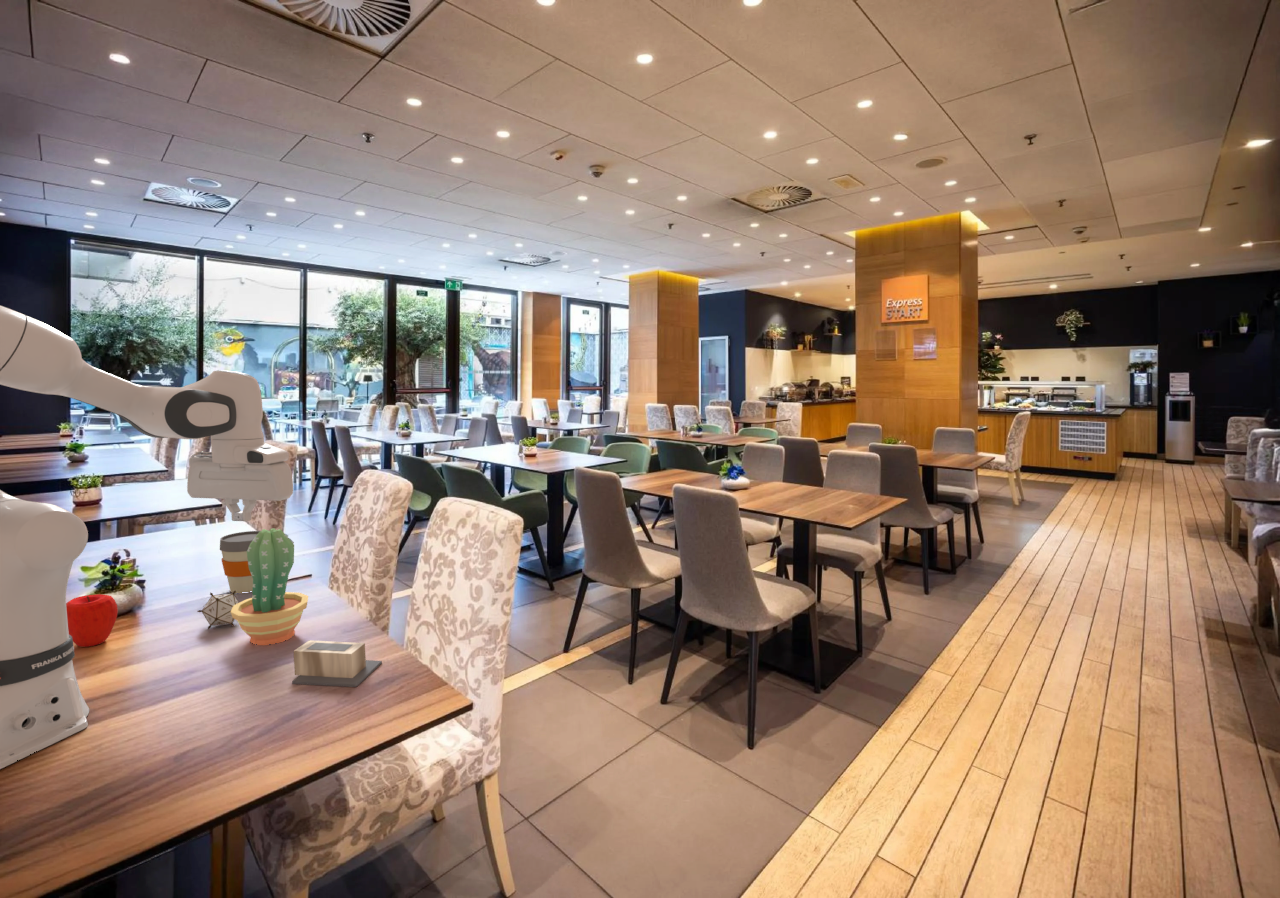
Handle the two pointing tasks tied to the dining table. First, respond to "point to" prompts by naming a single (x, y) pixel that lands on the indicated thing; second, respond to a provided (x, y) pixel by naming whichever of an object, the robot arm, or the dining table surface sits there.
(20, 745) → the robot arm
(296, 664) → the birch block
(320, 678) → the mat
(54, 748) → the dining table surface
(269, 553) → the potted cactus
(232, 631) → the dining table surface
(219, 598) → the game die
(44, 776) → the dining table surface
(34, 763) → the dining table surface
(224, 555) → the reusable coffee cup
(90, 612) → the apple
